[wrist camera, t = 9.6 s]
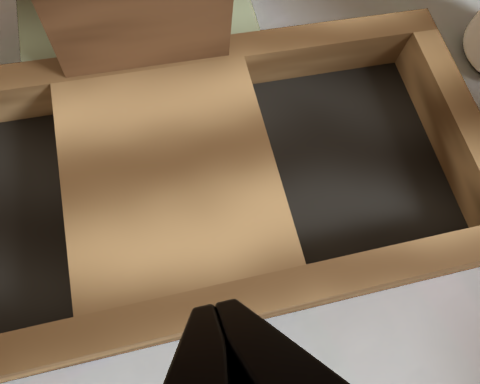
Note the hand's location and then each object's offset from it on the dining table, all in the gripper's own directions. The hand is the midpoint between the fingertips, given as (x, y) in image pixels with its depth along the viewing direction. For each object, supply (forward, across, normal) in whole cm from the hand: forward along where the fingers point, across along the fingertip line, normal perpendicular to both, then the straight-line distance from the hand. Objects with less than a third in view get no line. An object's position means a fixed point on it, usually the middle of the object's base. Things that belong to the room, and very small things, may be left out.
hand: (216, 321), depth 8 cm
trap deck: (+18, 0, 0) cm, 18 cm away
